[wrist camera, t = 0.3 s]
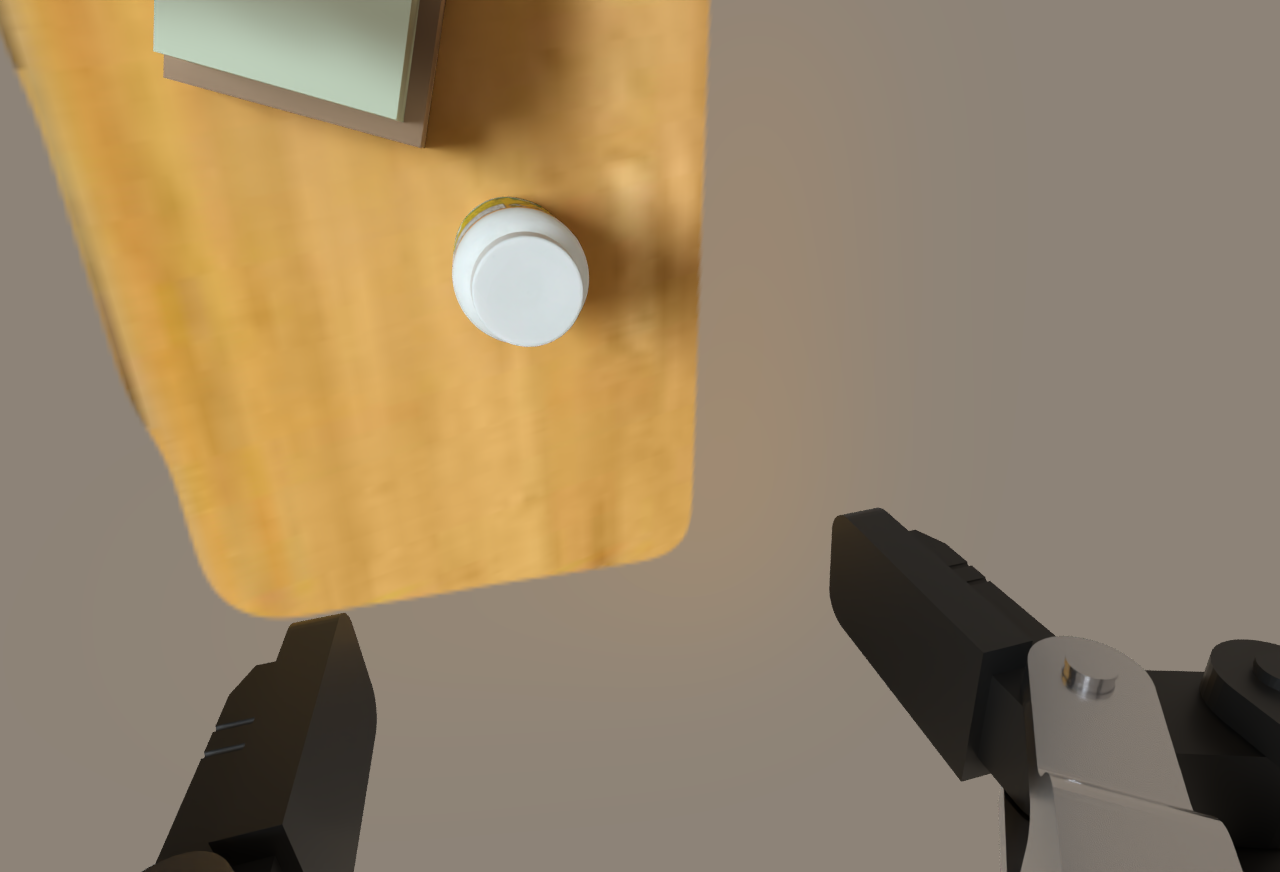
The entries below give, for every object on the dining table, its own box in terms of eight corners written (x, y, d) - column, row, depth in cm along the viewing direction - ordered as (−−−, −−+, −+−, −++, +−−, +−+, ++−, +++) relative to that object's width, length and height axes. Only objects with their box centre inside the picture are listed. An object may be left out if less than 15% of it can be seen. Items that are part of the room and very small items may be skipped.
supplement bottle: (430, 241, 32) (415, 276, 23) (521, 171, 31) (541, 179, 23) (503, 330, 34) (516, 392, 25) (588, 266, 34) (630, 307, 25)
